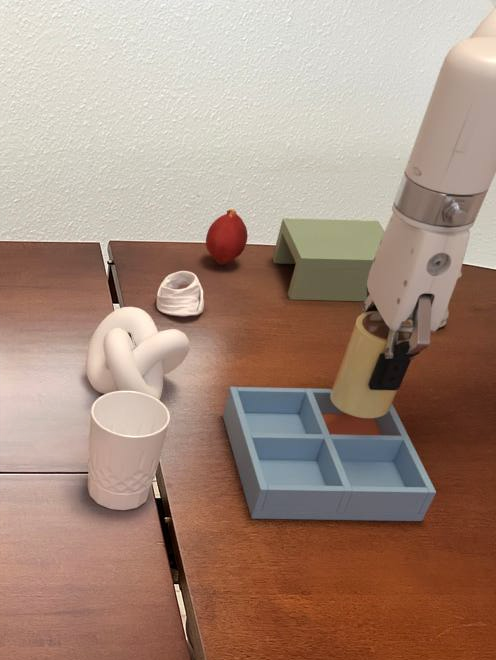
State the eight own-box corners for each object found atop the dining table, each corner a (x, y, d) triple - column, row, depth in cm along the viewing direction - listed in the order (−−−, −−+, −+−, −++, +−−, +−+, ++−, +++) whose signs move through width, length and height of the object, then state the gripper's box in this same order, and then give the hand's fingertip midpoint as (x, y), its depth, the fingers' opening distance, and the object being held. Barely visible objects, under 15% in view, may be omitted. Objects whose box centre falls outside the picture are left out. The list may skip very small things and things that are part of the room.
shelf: (364, 261, 133) (378, 220, 128) (387, 302, 125) (403, 260, 120) (272, 258, 132) (282, 218, 128) (289, 299, 124) (301, 258, 120)
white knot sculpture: (173, 430, 104) (187, 362, 97) (72, 413, 105) (79, 345, 98) (183, 377, 111) (196, 310, 104) (88, 362, 112) (96, 295, 105)
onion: (212, 250, 133) (224, 195, 127) (247, 262, 131) (260, 207, 125) (194, 265, 130) (205, 209, 124) (229, 277, 128) (242, 221, 122)
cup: (380, 384, 101) (410, 310, 94) (397, 419, 97) (430, 343, 90) (323, 383, 101) (349, 308, 94) (338, 417, 97) (366, 342, 90)
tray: (374, 418, 107) (385, 389, 103) (422, 521, 95) (436, 492, 92) (222, 415, 106) (229, 386, 103) (251, 518, 94) (260, 489, 91)
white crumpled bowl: (204, 329, 120) (215, 297, 116) (155, 323, 120) (164, 290, 116) (199, 296, 125) (209, 264, 121) (152, 289, 124) (161, 257, 120)
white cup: (115, 458, 100) (126, 381, 92) (169, 492, 96) (186, 414, 89) (67, 489, 96) (74, 411, 88) (121, 525, 92) (134, 447, 85)
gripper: (513, 244, 77) (432, 417, 90) (447, 162, 88) (383, 327, 102) (428, 241, 77) (360, 415, 90) (373, 159, 88) (319, 325, 101)
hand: (373, 367), depth 96 cm, fingers closed on cup, 6 cm apart
